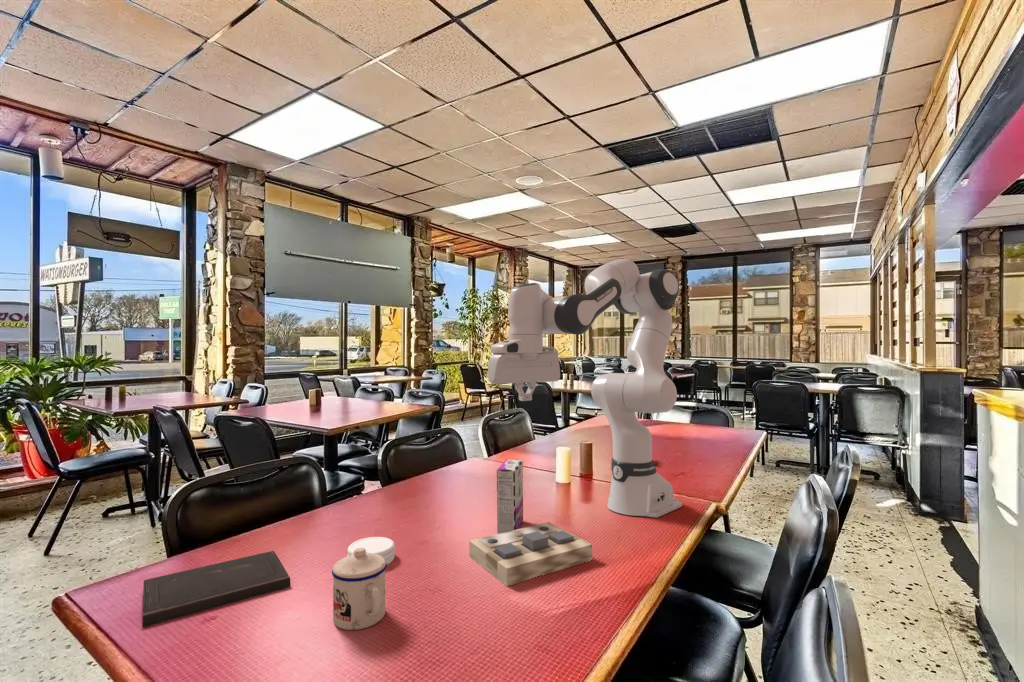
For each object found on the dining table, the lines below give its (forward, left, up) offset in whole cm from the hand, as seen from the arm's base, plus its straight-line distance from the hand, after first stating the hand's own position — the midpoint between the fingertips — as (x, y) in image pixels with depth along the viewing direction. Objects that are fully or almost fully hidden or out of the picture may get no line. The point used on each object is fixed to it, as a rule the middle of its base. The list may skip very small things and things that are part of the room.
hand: (525, 400), depth 124 cm
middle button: (+8, +16, -30) cm, 35 cm away
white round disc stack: (+38, -4, -34) cm, 51 cm away
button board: (+8, +14, -33) cm, 37 cm away
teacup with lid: (+46, +19, -33) cm, 60 cm away
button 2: (+1, +16, -32) cm, 36 cm away
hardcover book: (+67, -7, -34) cm, 75 cm away
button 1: (+15, +16, -32) cm, 39 cm away
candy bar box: (+2, -4, -33) cm, 34 cm away
